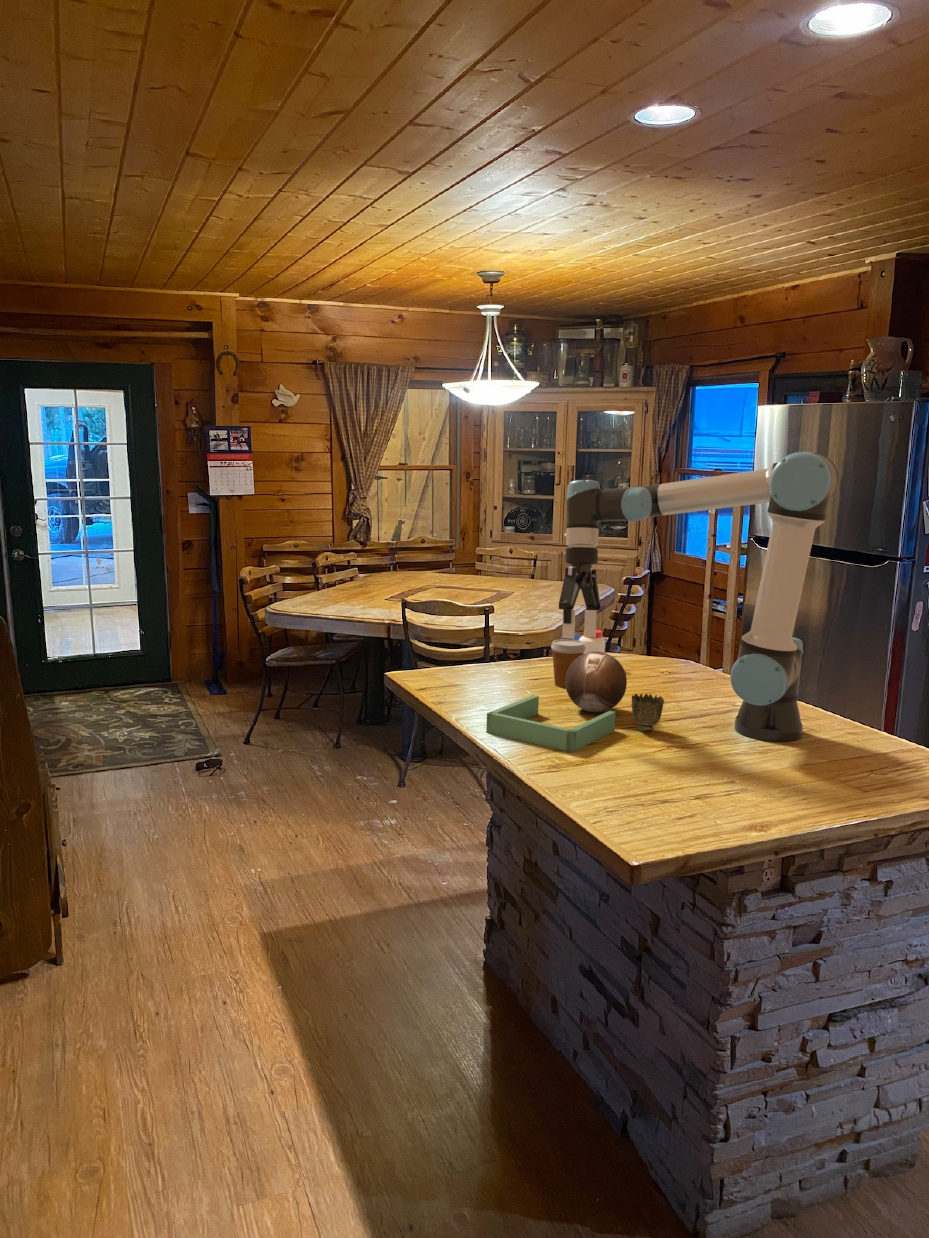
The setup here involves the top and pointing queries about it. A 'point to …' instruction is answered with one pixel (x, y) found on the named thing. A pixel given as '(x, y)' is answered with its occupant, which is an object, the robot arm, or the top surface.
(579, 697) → the wooden sphere
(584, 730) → the green bracket
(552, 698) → the top surface
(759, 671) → the robot arm
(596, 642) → the pill bottle
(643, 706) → the cup
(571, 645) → the disposable coffee cup
